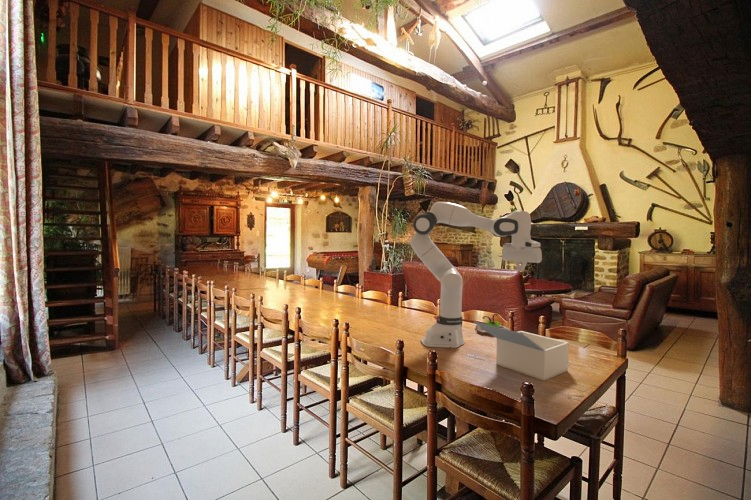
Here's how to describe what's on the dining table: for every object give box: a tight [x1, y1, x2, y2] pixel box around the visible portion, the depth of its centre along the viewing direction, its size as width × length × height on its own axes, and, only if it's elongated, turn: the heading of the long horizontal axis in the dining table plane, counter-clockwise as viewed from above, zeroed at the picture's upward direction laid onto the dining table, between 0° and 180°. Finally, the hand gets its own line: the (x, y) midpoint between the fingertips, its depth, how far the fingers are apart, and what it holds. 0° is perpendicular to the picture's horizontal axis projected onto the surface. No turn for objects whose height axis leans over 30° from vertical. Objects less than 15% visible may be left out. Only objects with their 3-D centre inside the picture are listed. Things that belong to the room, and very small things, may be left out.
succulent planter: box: [475, 313, 512, 337], centre depth 209 cm, size 20×20×11 cm
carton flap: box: [473, 320, 545, 351], centre depth 143 cm, size 18×22×1 cm
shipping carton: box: [496, 330, 570, 382], centre depth 154 cm, size 18×22×12 cm
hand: (520, 270), depth 179 cm, fingers closed
